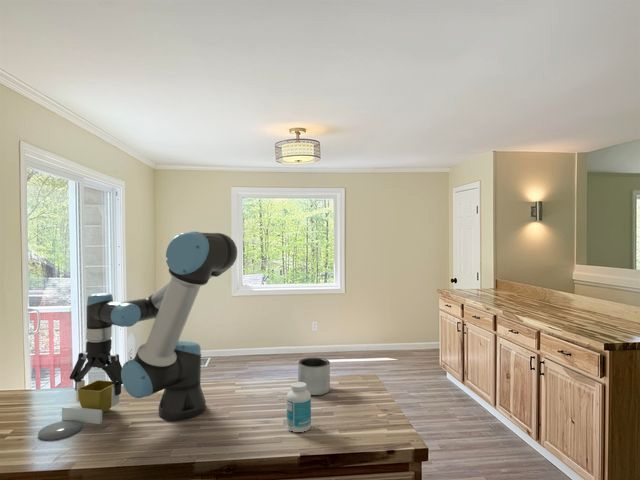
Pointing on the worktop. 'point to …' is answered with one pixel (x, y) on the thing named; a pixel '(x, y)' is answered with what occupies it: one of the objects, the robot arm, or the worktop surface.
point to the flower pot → (96, 395)
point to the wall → (82, 414)
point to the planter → (315, 375)
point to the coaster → (60, 430)
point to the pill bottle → (298, 408)
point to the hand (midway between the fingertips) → (97, 402)
